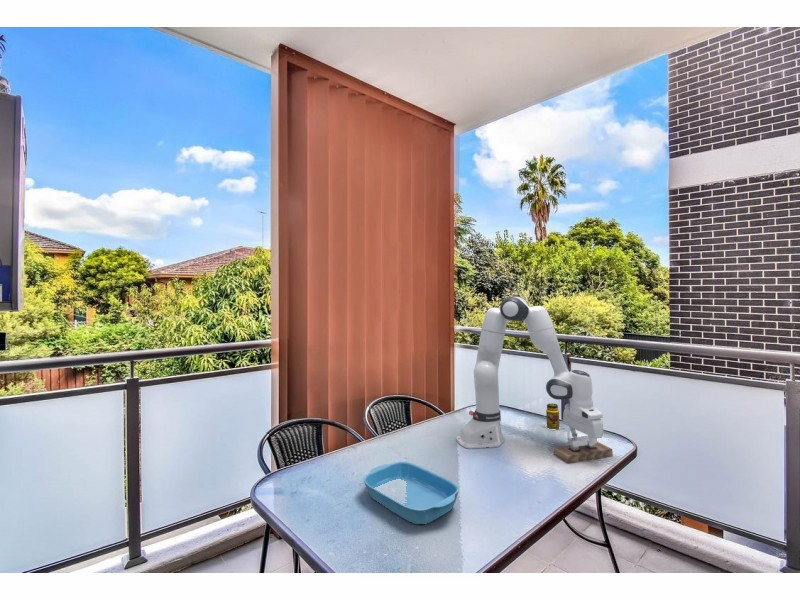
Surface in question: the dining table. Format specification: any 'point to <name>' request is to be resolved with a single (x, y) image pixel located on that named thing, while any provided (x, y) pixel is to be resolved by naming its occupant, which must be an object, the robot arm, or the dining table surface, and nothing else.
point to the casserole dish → (414, 491)
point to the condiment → (552, 416)
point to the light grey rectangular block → (580, 443)
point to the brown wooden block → (582, 453)
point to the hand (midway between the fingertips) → (582, 441)
